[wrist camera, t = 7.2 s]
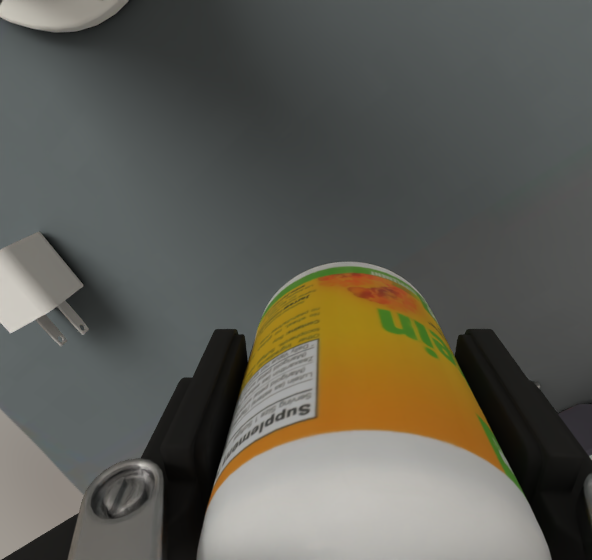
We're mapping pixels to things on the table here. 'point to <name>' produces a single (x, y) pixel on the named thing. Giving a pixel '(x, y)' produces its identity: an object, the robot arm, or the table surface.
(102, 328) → the table surface
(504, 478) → the supplement bottle
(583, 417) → the calculator
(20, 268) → the usb wall charger
